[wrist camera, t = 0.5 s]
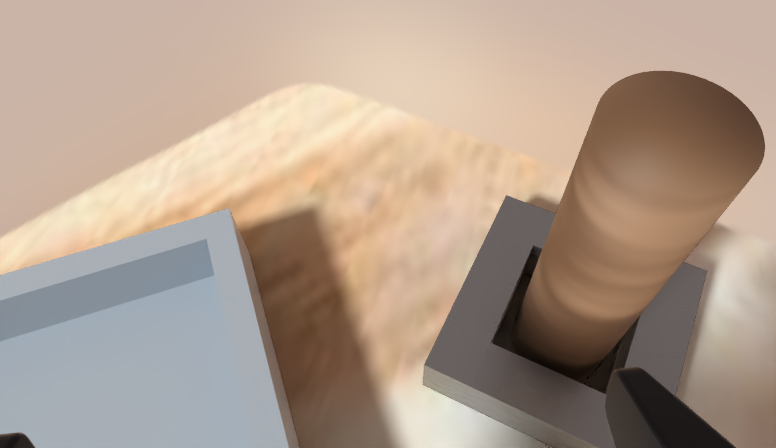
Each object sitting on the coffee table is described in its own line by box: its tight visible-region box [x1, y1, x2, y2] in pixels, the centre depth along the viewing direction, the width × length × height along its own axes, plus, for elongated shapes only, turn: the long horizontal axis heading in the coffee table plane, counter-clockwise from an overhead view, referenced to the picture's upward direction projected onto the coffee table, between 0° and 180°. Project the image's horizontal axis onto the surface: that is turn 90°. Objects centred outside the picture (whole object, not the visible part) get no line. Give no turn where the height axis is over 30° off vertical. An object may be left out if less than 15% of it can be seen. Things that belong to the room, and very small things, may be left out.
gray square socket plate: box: [423, 195, 707, 448], centre depth 26 cm, size 9×9×2 cm
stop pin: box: [512, 71, 765, 382], centre depth 21 cm, size 4×4×14 cm
